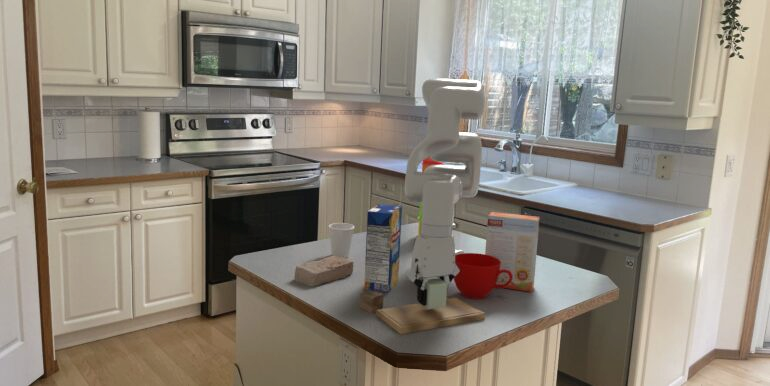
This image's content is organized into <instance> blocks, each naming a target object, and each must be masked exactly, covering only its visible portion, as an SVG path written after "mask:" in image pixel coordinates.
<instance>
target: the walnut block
mask: <svg viewBox="0 0 770 386" xmlns="http://www.w3.org/2000/svg"><path fill="white" fill-rule="evenodd" d="M383 307H384V293H382V292H379V291H373V290H367V291H365V292H362V293H360V305H359V308H360V310H362V311H365V312H368V313H371V314H373V313H376V310H378V309H384V308H383Z"/></svg>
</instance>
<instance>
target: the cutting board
mask: <svg viewBox="0 0 770 386" xmlns="http://www.w3.org/2000/svg"><path fill="white" fill-rule="evenodd" d="M375 313H376V317H377V318H378V319H380V320H382V321H383V322H384V323H386V324H387V325H388V326H389V327H391V328H392V329H393V330H394V331H396V332H397V333H399V335H405V334H410V333H415V332H420V331H425V330H426V331H427V330H432V329H437V328H442V327H447V326H453V325H459V324H465V323H469V322H474V321H480V320H485V319H486V312H484V311H483V310H481V309H479V308H477V307H476V306H473V305H472V304H471V303H469V302H467V301H464V300H463V299H461V298H459V297H457V296H456V297H450V298H448V297H447V298H446V306H445V307H439V308H433V309H427V308H426V307H424V306H423V305H421V304H420V303H418V302H417V303H411V304H405V305H400V306H399V305H398V306H393V307H386V308H383V309H378V310H376V312H375Z"/></svg>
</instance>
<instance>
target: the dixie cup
mask: <svg viewBox="0 0 770 386" xmlns="http://www.w3.org/2000/svg"><path fill="white" fill-rule="evenodd" d="M328 228H329V229H328V230H329V238H330V239H329V240H330V248H331V249H330V250H331V256H337V257H343V258H347V259H348V258H349V257H350V254H351V250H352V249H351V247H352V243H353V242H352V241H353V237H354V236H353V235H354V229H355V225H354V224H351V223H346V222H334V223H331V224H329V225H328Z"/></svg>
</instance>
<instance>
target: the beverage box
mask: <svg viewBox="0 0 770 386" xmlns="http://www.w3.org/2000/svg"><path fill="white" fill-rule="evenodd" d="M402 211H403V206H402V205H393V204H382V203H378V204H377V205H375V206H374V207H372V208H370V209H368V210H367V215H366V217H367V218H366V219H367V221H366V239H365V240H366V241H365V243H366V244H365V262H364V264H365V265H364V266H365V267H364V287H363V289H364V290H365V289H366V290H367V291H371V290H372V291H373V290H374V291H375V292H379V293H390V291H391V290H392V289H393V288H394V287H395V285H396V284H397V283H398V281H399V270H400V254H401V253H400V251H401V250H400V249H401V233H402V232H401V231H402V214H403V213H402Z"/></svg>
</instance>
